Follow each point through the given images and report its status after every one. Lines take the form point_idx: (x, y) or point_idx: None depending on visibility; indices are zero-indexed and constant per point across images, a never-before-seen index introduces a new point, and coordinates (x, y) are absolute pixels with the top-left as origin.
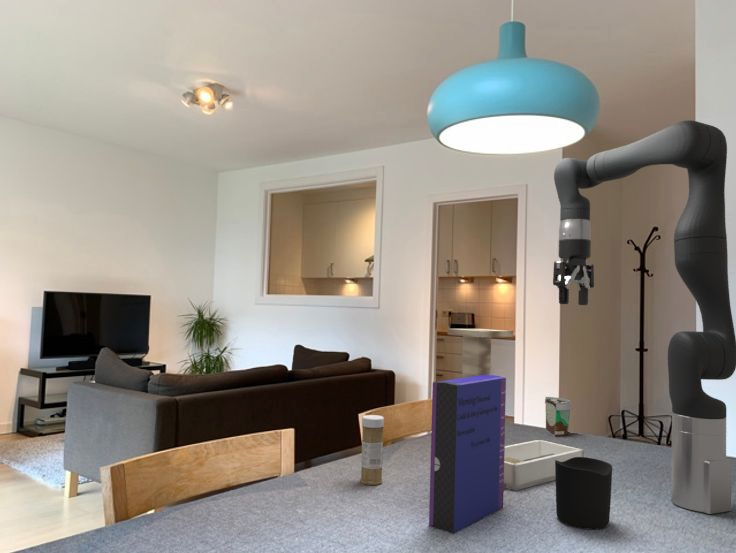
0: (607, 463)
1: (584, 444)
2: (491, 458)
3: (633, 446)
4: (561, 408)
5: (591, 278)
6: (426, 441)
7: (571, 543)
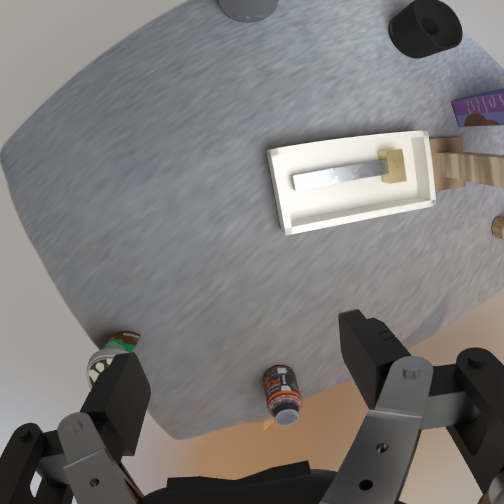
0: (416, 3)
1: (127, 282)
2: (501, 92)
3: (62, 244)
4: (122, 352)
5: (17, 476)
6: None
7: None
